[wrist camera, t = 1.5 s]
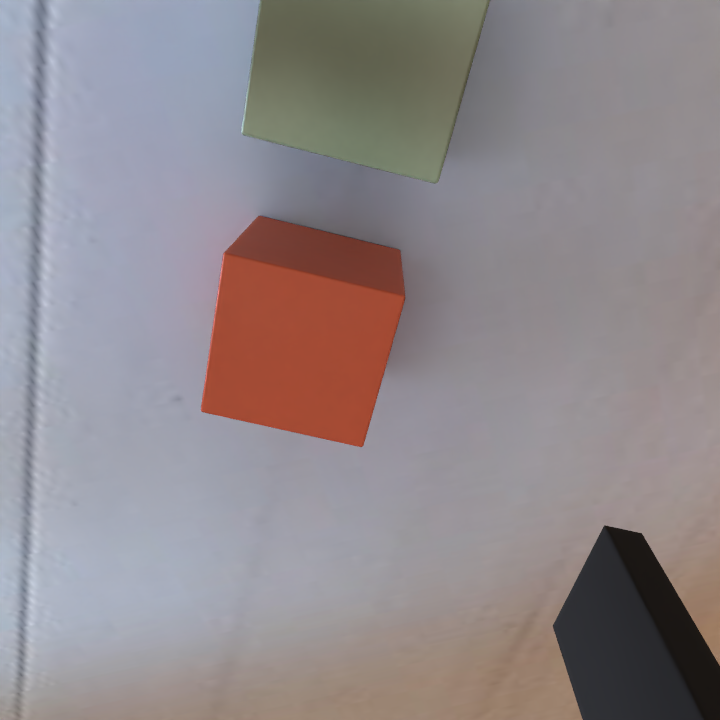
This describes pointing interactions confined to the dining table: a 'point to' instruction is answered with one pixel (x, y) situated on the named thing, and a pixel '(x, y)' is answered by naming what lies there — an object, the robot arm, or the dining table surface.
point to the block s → (303, 330)
